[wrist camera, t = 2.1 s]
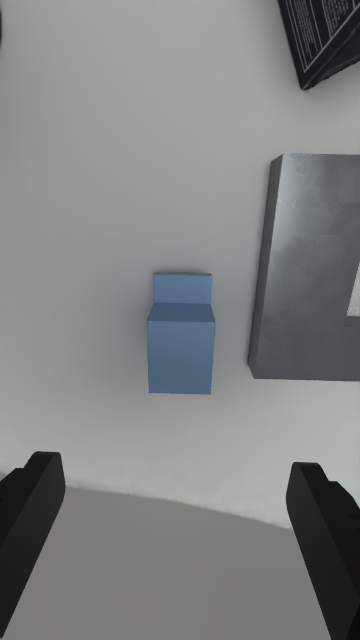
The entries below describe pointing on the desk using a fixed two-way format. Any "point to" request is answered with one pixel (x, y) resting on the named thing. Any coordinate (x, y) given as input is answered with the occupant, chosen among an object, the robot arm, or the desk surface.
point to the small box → (322, 36)
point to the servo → (181, 334)
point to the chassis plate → (308, 271)
